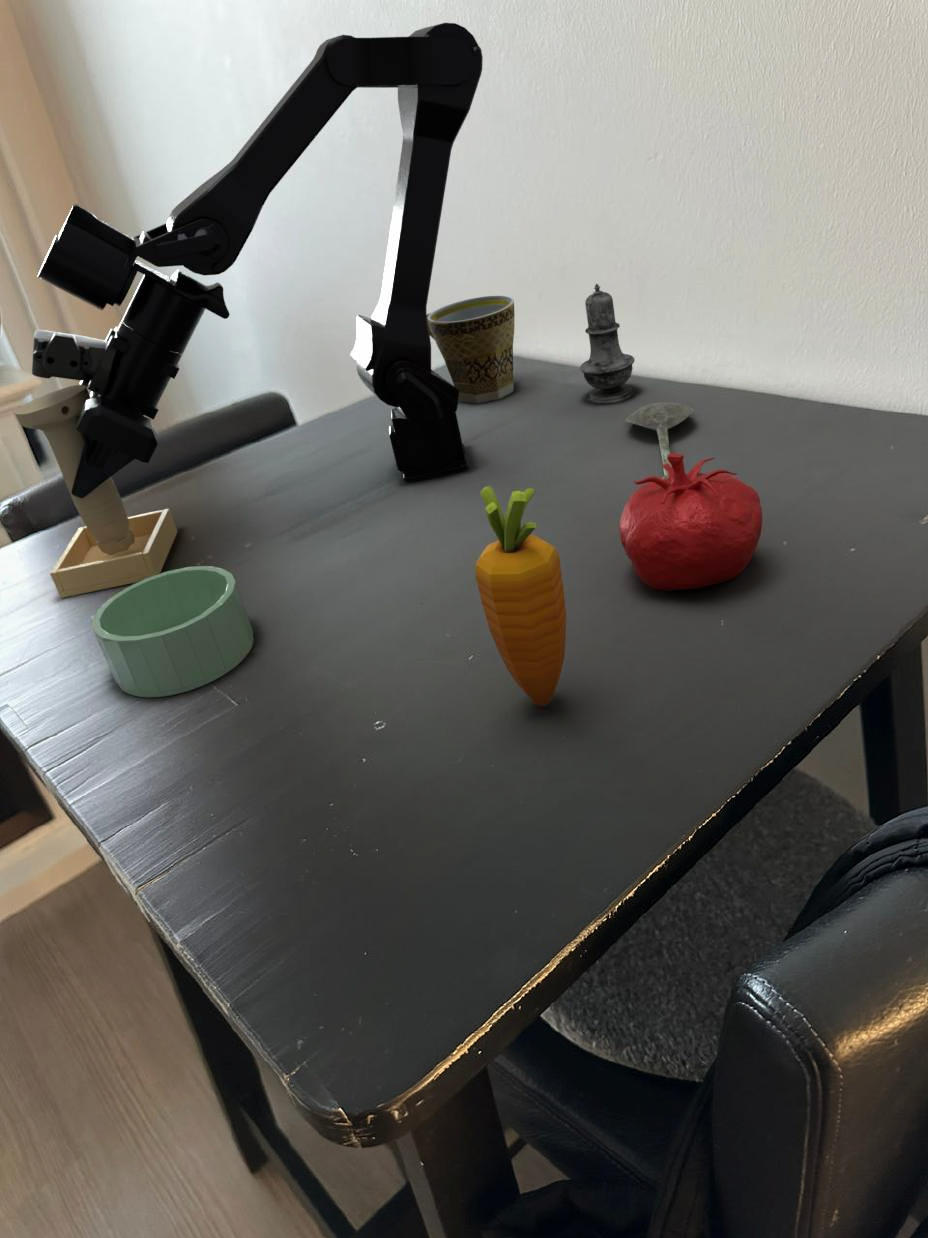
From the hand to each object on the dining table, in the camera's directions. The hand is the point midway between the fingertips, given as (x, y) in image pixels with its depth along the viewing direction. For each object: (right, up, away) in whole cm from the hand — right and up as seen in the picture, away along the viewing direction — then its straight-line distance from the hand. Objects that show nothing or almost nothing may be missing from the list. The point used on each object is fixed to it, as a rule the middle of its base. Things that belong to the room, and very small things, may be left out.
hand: (76, 489), depth 94 cm
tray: (+3, -7, +4) cm, 8 cm away
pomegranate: (+52, -8, -18) cm, 56 cm away
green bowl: (+14, -15, -14) cm, 25 cm away
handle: (+3, -5, +4) cm, 7 cm away
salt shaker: (+51, +12, +18) cm, 56 cm away
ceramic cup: (+37, +15, +28) cm, 49 cm away
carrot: (+40, -17, -29) cm, 53 cm away
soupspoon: (+54, +3, +1) cm, 54 cm away
